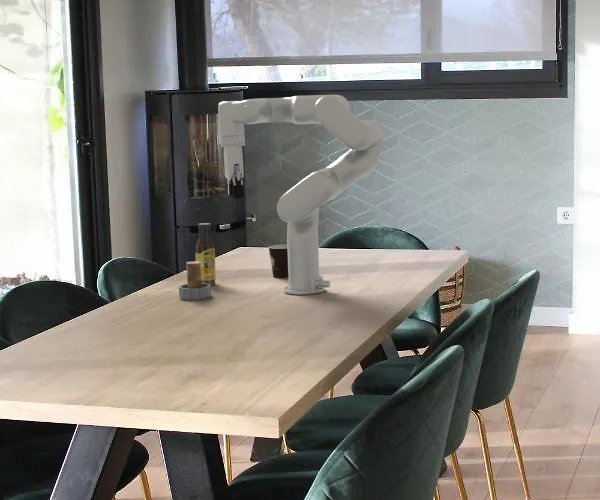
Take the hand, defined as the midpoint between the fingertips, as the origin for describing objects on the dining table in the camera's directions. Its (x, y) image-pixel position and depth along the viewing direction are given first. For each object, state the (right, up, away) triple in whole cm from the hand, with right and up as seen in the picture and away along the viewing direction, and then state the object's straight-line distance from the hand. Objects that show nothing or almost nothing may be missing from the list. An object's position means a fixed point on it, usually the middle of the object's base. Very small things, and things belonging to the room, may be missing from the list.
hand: (236, 196), depth 346 cm
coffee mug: (+14, -25, +27) cm, 39 cm away
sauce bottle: (-11, -28, +15) cm, 33 cm away
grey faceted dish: (-13, -31, -5) cm, 33 cm away
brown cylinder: (-13, -30, -5) cm, 33 cm away
